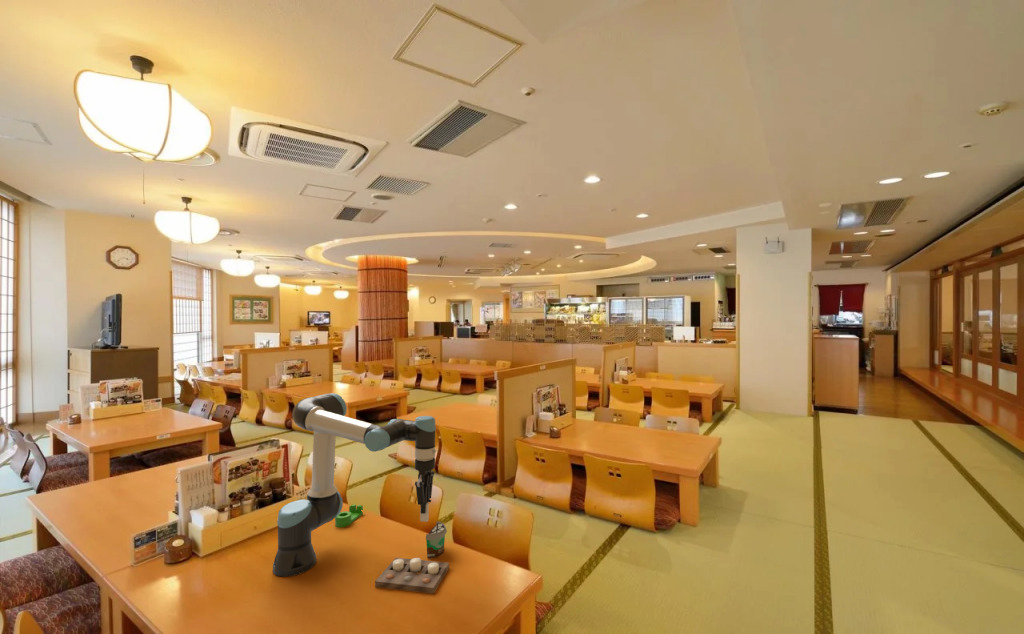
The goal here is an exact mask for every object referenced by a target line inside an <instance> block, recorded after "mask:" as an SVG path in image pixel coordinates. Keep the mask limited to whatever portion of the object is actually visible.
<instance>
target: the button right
mask: <svg viewBox="0 0 1024 634" xmlns="http://www.w3.org/2000/svg"><path fill="white" fill-rule="evenodd" d="M438 573H439V564H438V563H430V564H429V565H428V574H431V575H438Z"/></svg>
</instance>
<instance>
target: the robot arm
mask: <svg viewBox="0 0 1024 634" xmlns="http://www.w3.org/2000/svg"><path fill="white" fill-rule="evenodd" d="M347 410H348V409H347V403H346V401H345V399H343V397H342V396H341V395H339V394H338V393H335V392H334V393H324V394H320V395H319V394H318V395H316V396H311V397H306V398H303V399H301V400H300V401H298V402H297V403H296V404H295V405H294V408H293V409H292V416H291V417H292V420H293V422H294V423H295V425H296V426H297V427H299V428H300V429H302V430H306V431H308V432H313V440H312V443H313V444H312V464H311V465H312V468H311V469H312V470H311V487H310V489H309V490H308V491H307V493H306V495H307V496H306V498H307V499H297V500H296V501H294V500H293V501H291V502H289V503H287V504H284V505H283V506H282V507H281V508H280V510H279V511H278V514H277V521H276V525H277V550H276V554H275V556H274V560H273V563H272V573H273V574H274V575H275V576H277V577H283V578H284V577H294V576H297V575H301V574H303V573H305V572H308V571H309V570H311V569H312V568H313V567H314V566H315V565H316V563H317V554H316V551H315V550H314V547H313V544H312V532H313V531H315V530H317V529H318V528H319V527H321V526H324V525H326V524H327V523H329V522H332V521H333V520H335V517H337V516H338V515H339V513H340V512H342V509H343V504H344V503H343V497H342V496H341V493H340V492H339V491H338V488H337V486H335V483H334V482H335V465H336V464H335V463H336V462H335V461H336V439H337V437H339V438H342V439H347V440H350V441H354V442H357V443H360V444H363V445H365V447H366V448H367V450H368V451H370V452H372V453H373V452H375V453H376V452H379V451H382V450H383V451H384V450H385V449H386V448H389V447H391V446H394V445H395V444H399V443H401V442H403V441H407V442H408V441H409V442H414V448H415V449H414V458H415V459H414V469H415V470H416V471H418V475H417V481H415V483H414V485H415V491H416V500H417V506H418V505H419V506H420V507H419V508H420V511H419V514H420V515H419V521H420V522H428V521H429V517H430V515H429V513H430V512H429V511H430V509H429V504H430V503H431V502H432V495H433V493H432V492H433V483H434V475H435V471H433V470H434V469H435V468H436V452H437V450H436V430H437V427H436V418H435V417H434V416H432V415H420V416H417V417H416V418H415V420H407V419H401V418H393V419H390V420H389V422H388V423H387V424H386V425H378V424H374V423H370V422H367V421H364V420H359V419H356V418H352V417H349V416H346V414H347ZM336 436H337V437H336Z"/></svg>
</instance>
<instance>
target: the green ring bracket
mask: <svg viewBox="0 0 1024 634" xmlns="http://www.w3.org/2000/svg"><path fill="white" fill-rule="evenodd" d="M361 510H363V512H362V511H361ZM363 514H364V507H363V505H362V504H358V505H357V504H351V505H349V508H348V511H345V510H344V511H341V512H340V513H339V515H338V516H337V517H335V518H334V526H335V527H336V528H346V527H349V526H350V525H351V524H352V523H354V521H356V520H357V519H359V518H360V517H361V516H362V515H363ZM348 525H349V526H348Z"/></svg>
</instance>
